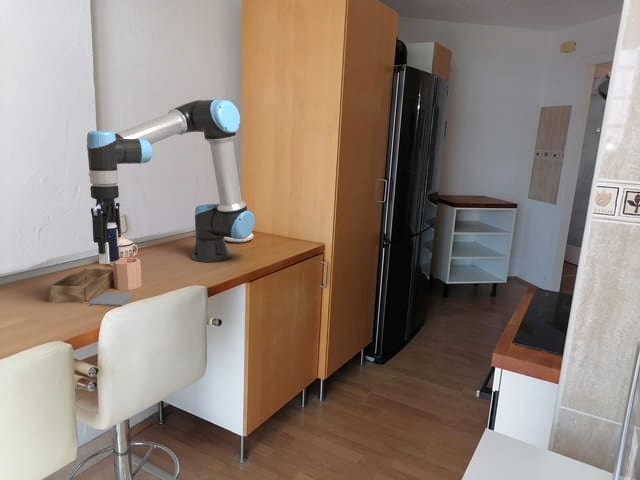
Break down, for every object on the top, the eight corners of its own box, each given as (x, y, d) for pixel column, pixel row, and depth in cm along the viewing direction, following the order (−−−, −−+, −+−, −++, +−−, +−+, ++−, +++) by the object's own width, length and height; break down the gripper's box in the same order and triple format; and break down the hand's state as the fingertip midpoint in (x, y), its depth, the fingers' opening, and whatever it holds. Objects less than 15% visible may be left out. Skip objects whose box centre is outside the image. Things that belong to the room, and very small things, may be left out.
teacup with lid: (119, 268, 178) (117, 239, 176) (104, 265, 183) (102, 236, 181) (145, 262, 188) (143, 234, 186) (130, 259, 193) (129, 231, 191)
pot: (144, 283, 162) (142, 258, 160) (135, 290, 154) (133, 264, 152) (121, 282, 162) (119, 257, 160) (111, 289, 154) (109, 263, 152)
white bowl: (255, 238, 240) (255, 224, 239) (252, 245, 225) (252, 230, 223) (224, 237, 240) (224, 224, 238) (219, 244, 224) (218, 230, 223)
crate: (117, 282, 161) (116, 269, 160) (87, 303, 141) (85, 287, 140) (84, 281, 162) (82, 268, 161) (49, 302, 141) (47, 286, 140)
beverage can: (103, 259, 144) (100, 221, 142) (122, 259, 145) (119, 221, 142) (96, 264, 139) (93, 224, 136) (115, 264, 139) (113, 225, 137)
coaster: (134, 295, 149) (134, 293, 149) (121, 306, 140) (121, 304, 139) (104, 294, 149) (103, 292, 149) (88, 305, 140) (88, 303, 140)
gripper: (106, 181, 146) (111, 253, 151) (74, 187, 128) (81, 268, 133) (130, 182, 146) (134, 254, 151) (101, 188, 128) (107, 269, 133)
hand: (109, 260), depth 142 cm, fingers closed on beverage can, 6 cm apart
